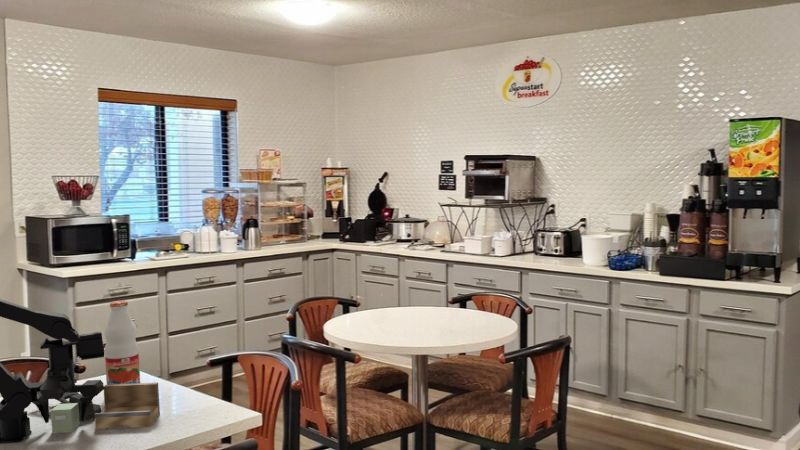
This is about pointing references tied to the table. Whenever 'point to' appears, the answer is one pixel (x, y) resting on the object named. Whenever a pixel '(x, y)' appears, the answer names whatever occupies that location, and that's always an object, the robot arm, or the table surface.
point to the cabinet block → (65, 417)
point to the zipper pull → (75, 398)
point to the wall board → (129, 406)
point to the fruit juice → (121, 346)
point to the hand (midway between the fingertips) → (65, 421)
